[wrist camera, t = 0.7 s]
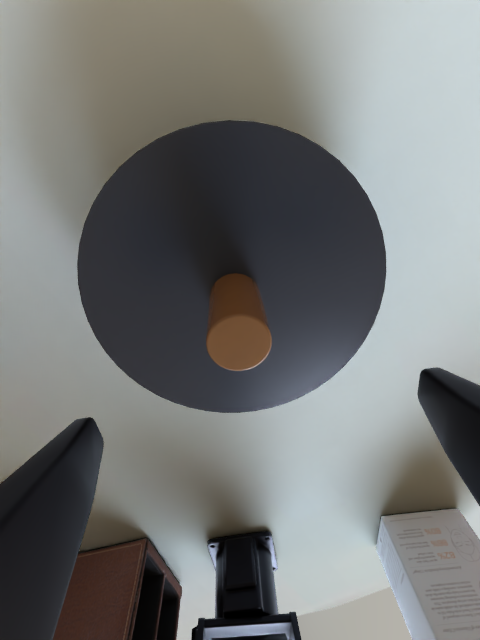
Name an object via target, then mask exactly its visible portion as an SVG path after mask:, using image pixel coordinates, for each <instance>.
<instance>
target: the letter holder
mask: <svg viewBox="0 0 480 640" xmlns="http://www.w3.org/2000/svg"><path fill="white" fill-rule="evenodd" d="M181 596H182V587H181V586H180V585H179V583H178V582H177V580H176V579H175V577H174V576H173V574H172V573H171V571H170V570H169V569H168V567H167V566H166V564H165V563H164V561H163V560H162V558H161V557H160V555H159V554H158V552H157V551H156V550H155V548H154V547H153V546H152V544H151V543H150V541H149V540H148V539H147V538H144V539H140V540H136V541H132V542H128V543H123V544H118V545H115V546H110V547H105V548H101V549H96V550H91V551H87V552H82V553H78V555H77V559H76V562H75V566H74V569H73V572H72V576H71V579H70V583H69V586H68V589H67V593H66V596H65V600H64V603H63V606H62V610H61V613H60V617H59V620H58V623H57V627H56V630H55V634H54V637H53V640H176V637H177V628H178V618H179V609H180V599H181Z"/></svg>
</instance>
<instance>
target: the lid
mask: <svg viewBox="0 0 480 640" xmlns="http://www.w3.org/2000/svg"><path fill="white" fill-rule="evenodd" d="M77 266H78V285H79V290H80V295H81V301H82V305H83V308H84V311H85V314H86V317H87V320H88V322H89V324H90V326H91V328H92V330H93V332H94V334H95V336H96V338H97V340H98V341H99V343H100V344H101V346H102V347H103V349H104V350H105V352H106V353H107V354H108V355H109V356H110V358H111V359H112V360H113V361H114V362H115V364H116V365H117V366H118V367H119V368H120V369H122V370H123V371H124V372H125V373H126V374H127V375H128V376H129V377H130V378H132V379H133V380H134V381H136V382H137V383H138V384H140V385H141V386H143V387H144V388H146V389H147V390H149V391H151V392H153V393H154V394H156V395H158V396H160V397H162V398H165V399H167V400H169V401H171V402H174V403H177V404H180V405H183V406H186V407H190V408H194V409H199V410H204V411H212V412H222V413H240V412H249V411H257V410H262V409H267V408H272V407H275V406H278V405H281V404H285V403H288V402H290V401H292V400H295V399H297V398H299V397H301V396H303V395H305V394H307V393H309V392H311V391H312V390H314V389H316V388H318V387H319V386H320V385H322V384H323V383H325V382H326V381H327V380H329V379H330V378H331V377H333V376H334V375H335V374H336V373H337V372H338V371H339V370H340V369H342V368H343V367H344V366H345V365H346V363H347V362H348V361H349V360H350V359H351V358H352V357H353V356H354V355H355V353H356V352H357V350H358V349H359V348H360V346H361V345H362V343H363V342H364V340H365V339H366V337H367V335H368V333H369V331H370V330H371V328H372V326H373V324H374V321H375V319H376V316H377V314H378V311H379V308H380V305H381V301H382V297H383V293H384V287H385V278H386V251H385V245H384V239H383V233H382V230H381V227H380V224H379V220H378V217H377V214H376V212H375V210H374V208H373V206H372V204H371V202H370V200H369V198H368V196H367V194H366V192H365V191H364V190H363V188H362V187H361V185H360V184H359V182H358V181H357V180H356V178H355V177H354V176H353V175H352V173H351V172H350V171H349V170H348V169H347V168H346V167H345V166H344V165H343V164H342V163H341V162H340V161H339V160H338V159H337V158H335V157H334V156H333V155H331V154H330V153H329V152H328V151H326V150H325V149H324V148H322V147H321V146H319V145H318V144H316V143H314V142H312V141H310V140H309V139H307V138H305V137H303V136H301V135H299V134H297V133H294V132H291V131H288V130H286V129H283V128H280V127H278V126H273V125H268V124H263V123H258V122H252V121H233V120H227V121H217V122H208V123H202V124H198V125H194V126H190V127H186V128H182V129H179V130H177V131H175V132H172V133H170V134H168V135H165V136H163V137H161V138H158V139H157V140H155V141H153V142H152V143H150V144H149V145H147V146H145V147H144V148H142V149H141V150H139V151H137V152H136V153H135V154H134V155H133V156H132V157H130V158H129V159H128V160H127V161H126V162H125V163H123V164H122V165H121V166H120V167H119V168H118V169H117V171H116V172H115V173H114V174H113V175H112V176H111V178H110V179H109V180H108V181H107V182H106V183H105V185H104V186H103V188H102V190H101V191H100V193H99V194H98V196H97V198H96V199H95V201H94V203H93V205H92V207H91V209H90V212H89V214H88V216H87V219H86V221H85V224H84V228H83V232H82V236H81V239H80V243H79V253H78V263H77Z"/></svg>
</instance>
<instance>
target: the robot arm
mask: <svg viewBox="0 0 480 640" xmlns="http://www.w3.org/2000/svg"><path fill="white" fill-rule="evenodd" d="M418 399H419V402H420V404H421V406H422V408H423V410H424V412H425V414H426V416H427V418H428V420H429V422H430V424H431V426H432V428H433V430H434V432H435V434H436V436H437V437H438V439H439V441H440V443H441V445H442V447H443V449H444V451H445V453H446V454H447V456H448V458H449V459H450V461H451V462H452V464H453V466H454V467H455V469H456V470H457V472H458V473H459V475H460V476H461V478H462V479H463V481H464V483H465V484H466V486H467V487H468V489H469V490H470V492H471V493H472V495H473V496H474V498H475V500H476V501H477V503H478V504H479V506H480V386H479V385H477V384H475V383H473V382H470V381H468V380H466V379H464V378H461V377H459V376H457V375H454V374H452V373H450V372H448V371H445V370H443V369H441V368H429V369H424V370H422V371H421V373H420V380H419V387H418ZM103 447H104V441H103V437H102V435H101V433H100V431H99V429H98V427H97V425H96V422H95V421H94V419H93V418H90V417H89V418H82V419H77V420H75V421H74V422H73V423H71V424H70V425H69V426H68V427H67V428H66V429H64V430H63V431H62V432H61V433H60V434H59V435H57V436H56V437H55V438H54V439H53V440H51V441H50V442H49V443H48V444H47V445H46V446H44V447H43V448H42V449H41V450H40V451H38V452H37V453H36V454H35V455H34V456H33V457H31V458H30V459H29V460H28V461H27V462H26V463H24V464H23V465H22V466H21V467H20V468H18V469H17V470H16V471H15V472H14V473H13V474H11V475H10V476H9V477H8V478H7V479H5V480H4V481H3V482H2V483H1V484H0V640H53V637H54V634H55V630H56V627H57V623H58V620H59V617H60V613H61V610H62V606H63V603H64V600H65V596H66V593H67V589H68V586H69V583H70V579H71V576H72V572H73V569H74V566H75V562H76V559H77V555H78V552H79V549H80V545H81V542H82V538H83V535H84V532H85V528H86V525H87V521H88V518H89V515H90V511H91V508H92V504H93V500H94V495H95V490H96V485H97V480H98V474H99V469H100V463H101V458H102V452H103ZM208 550H209V553H210V555H211V558H212V561H213V564H214V567H215V570H216V600H215V618H214V619H205V618H199V619H198V625H197V626H196V627H195V628H193V629H192V640H301V636H300V631H299V626H298V621H297V616H296V612H289V614H278V607H277V599H276V591H275V582H274V574H273V571H276V570H277V569H278V567H277V560H276V555H275V550H274V545H273V539H272V534H271V532H268V531H266V532H259V533H252V534H245V535H238V536H231V537H224V538H217V539H211V540H209V541H208Z"/></svg>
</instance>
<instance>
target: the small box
mask: <svg viewBox="0 0 480 640" xmlns="http://www.w3.org/2000/svg"><path fill="white" fill-rule="evenodd" d="M376 551H377V553H378V556H379V558H380V561H381V563H382V566H383V568H384V571H385V573H386V576H387V578H388V581H389V583H390V586H391V588H392V591H393V593H394V595H395V598H396V600H397V603H398V605H399V608H400V610H401V613H402V615H403V617H404V620H405V622H406V625H407V628H408V630H409V632H410V635H411V637H412V640H480V540H479V538H478V537H477V535H476V534H475V532H474V531H473V529H472V528H471V527H470V525H469V524H468V522H467V521H466V519H465V518H464V516H463V515H462V513H461V512H460V510H459V509H447V510H437V511H427V512H418V513H408V514H398V515H389V516H382V517H381V522H380V527H379V534H378V540H377V545H376Z"/></svg>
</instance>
